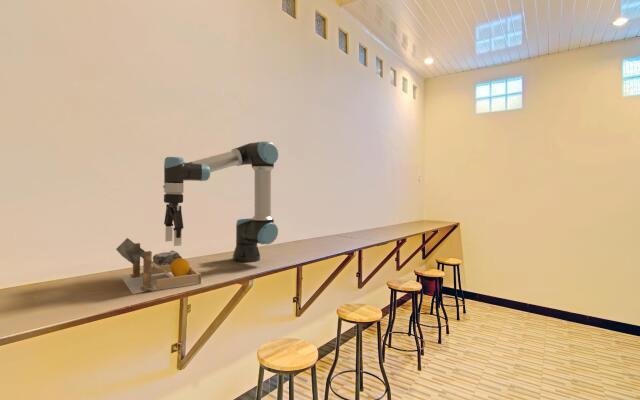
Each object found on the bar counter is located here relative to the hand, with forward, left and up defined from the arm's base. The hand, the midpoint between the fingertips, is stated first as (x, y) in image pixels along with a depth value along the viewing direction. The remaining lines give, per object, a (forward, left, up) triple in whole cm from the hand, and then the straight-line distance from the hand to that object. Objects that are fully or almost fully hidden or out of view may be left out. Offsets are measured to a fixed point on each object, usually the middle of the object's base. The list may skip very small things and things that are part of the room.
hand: (173, 243), depth 143 cm
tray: (+5, 0, -16) cm, 16 cm away
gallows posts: (+12, 0, -16) cm, 20 cm away
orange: (+1, 0, -12) cm, 12 cm away
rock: (-3, -21, -16) cm, 27 cm away
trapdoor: (+12, 0, -10) cm, 15 cm away
